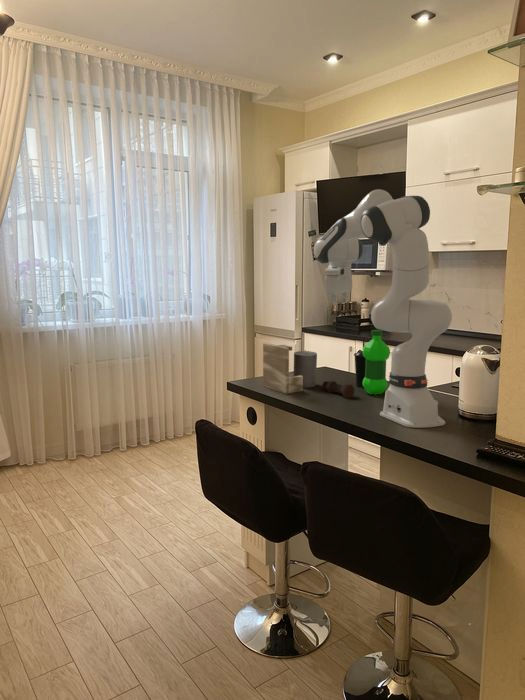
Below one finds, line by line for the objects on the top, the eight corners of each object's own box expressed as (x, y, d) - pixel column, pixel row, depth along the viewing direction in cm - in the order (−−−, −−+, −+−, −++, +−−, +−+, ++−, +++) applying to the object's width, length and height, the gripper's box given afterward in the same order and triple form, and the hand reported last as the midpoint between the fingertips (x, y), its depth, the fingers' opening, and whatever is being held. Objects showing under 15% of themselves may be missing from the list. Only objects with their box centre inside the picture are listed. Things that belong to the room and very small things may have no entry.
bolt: (326, 393, 219) (350, 400, 206) (317, 389, 216) (342, 395, 204) (331, 380, 220) (356, 386, 207) (323, 375, 217) (348, 381, 204)
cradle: (280, 383, 228) (280, 341, 225) (303, 391, 215) (304, 346, 212) (263, 385, 224) (263, 343, 221) (285, 393, 210) (285, 348, 207)
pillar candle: (289, 383, 228) (289, 349, 225) (308, 381, 232) (309, 347, 229) (301, 388, 219) (301, 352, 217) (321, 386, 224) (321, 350, 221)
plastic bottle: (363, 396, 207) (365, 332, 203) (360, 389, 217) (362, 328, 213) (389, 396, 206) (392, 332, 202) (385, 390, 217) (387, 328, 212)
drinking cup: (351, 387, 221) (353, 339, 217) (354, 383, 228) (355, 337, 225) (370, 389, 219) (372, 340, 215) (372, 384, 226) (374, 337, 222)
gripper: (342, 268, 226) (341, 301, 229) (322, 270, 209) (322, 306, 211) (356, 268, 223) (355, 302, 226) (337, 271, 205) (337, 307, 208)
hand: (339, 304), depth 218 cm, fingers open, 8 cm apart
